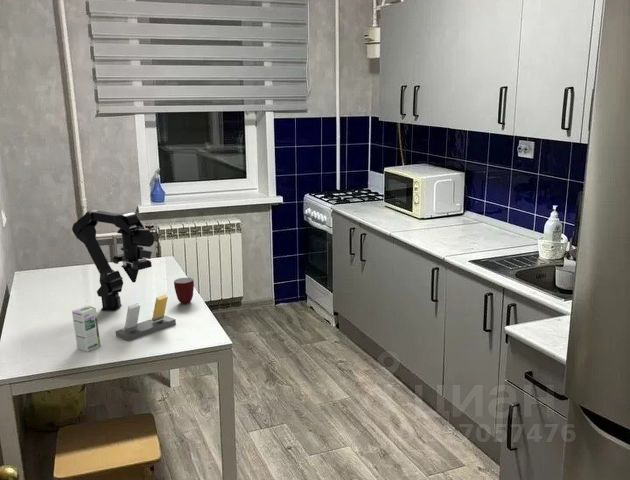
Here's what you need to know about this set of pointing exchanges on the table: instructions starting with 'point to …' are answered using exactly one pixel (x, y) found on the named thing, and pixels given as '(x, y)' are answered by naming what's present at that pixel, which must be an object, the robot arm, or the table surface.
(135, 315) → the rocker grey
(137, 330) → the grey switch base
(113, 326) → the table surface
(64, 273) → the table surface
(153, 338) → the table surface
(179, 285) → the mug
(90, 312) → the syrup box
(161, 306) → the rocker amber
